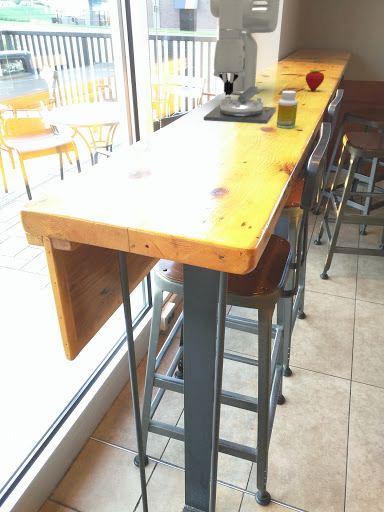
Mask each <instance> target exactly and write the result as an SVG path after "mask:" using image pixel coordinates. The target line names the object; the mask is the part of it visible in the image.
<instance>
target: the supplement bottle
mask: <svg viewBox="0 0 384 512" xmlns="http://www.w3.org/2000/svg"><path fill="white" fill-rule="evenodd" d="M296 95H297V92H296V91H294V90H283V91H282V92H281V99H279V100H278V103H277V104H278V105H277V117H276V127H277V128H280V129H293V128H295V126H296V119H297V112H298V103H299V102H298V100H297V99H296Z"/></svg>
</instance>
